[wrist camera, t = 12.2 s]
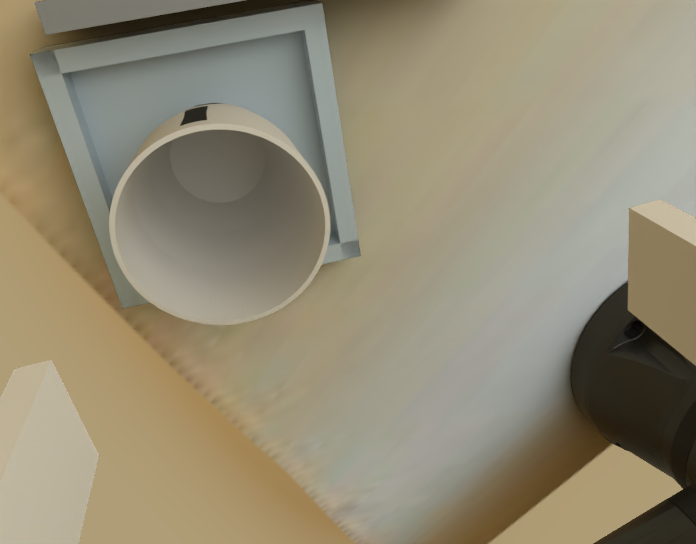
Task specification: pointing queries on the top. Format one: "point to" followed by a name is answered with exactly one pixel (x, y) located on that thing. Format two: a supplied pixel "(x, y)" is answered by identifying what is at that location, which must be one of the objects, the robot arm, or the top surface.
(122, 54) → the tray
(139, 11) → the holder
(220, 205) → the cup
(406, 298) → the top surface
